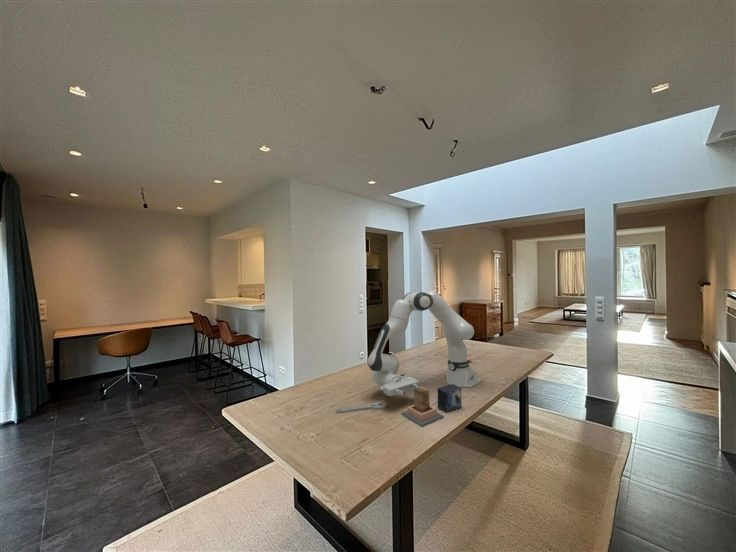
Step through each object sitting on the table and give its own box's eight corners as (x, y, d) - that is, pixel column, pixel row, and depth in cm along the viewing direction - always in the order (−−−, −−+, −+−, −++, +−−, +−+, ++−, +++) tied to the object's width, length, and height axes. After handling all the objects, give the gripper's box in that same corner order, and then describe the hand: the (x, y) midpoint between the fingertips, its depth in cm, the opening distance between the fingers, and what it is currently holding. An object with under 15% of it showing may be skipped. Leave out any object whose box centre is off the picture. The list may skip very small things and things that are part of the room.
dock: (422, 407, 148) (422, 399, 148) (443, 417, 136) (443, 409, 136) (401, 414, 140) (401, 406, 140) (421, 427, 128) (421, 418, 129)
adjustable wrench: (336, 414, 143) (336, 411, 143) (336, 409, 150) (335, 405, 150) (386, 410, 147) (385, 406, 147) (383, 404, 153) (383, 401, 153)
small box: (445, 413, 141) (445, 391, 141) (437, 408, 147) (436, 387, 147) (462, 408, 145) (461, 387, 145) (453, 403, 151) (452, 383, 151)
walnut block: (422, 410, 142) (421, 386, 142) (429, 414, 138) (429, 389, 138) (414, 413, 139) (414, 388, 139) (422, 417, 135) (421, 392, 135)
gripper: (378, 381, 150) (394, 390, 139) (407, 373, 161) (425, 380, 150) (378, 393, 150) (395, 403, 139) (408, 384, 161) (426, 392, 150)
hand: (411, 391), depth 144 cm, fingers open, 8 cm apart
